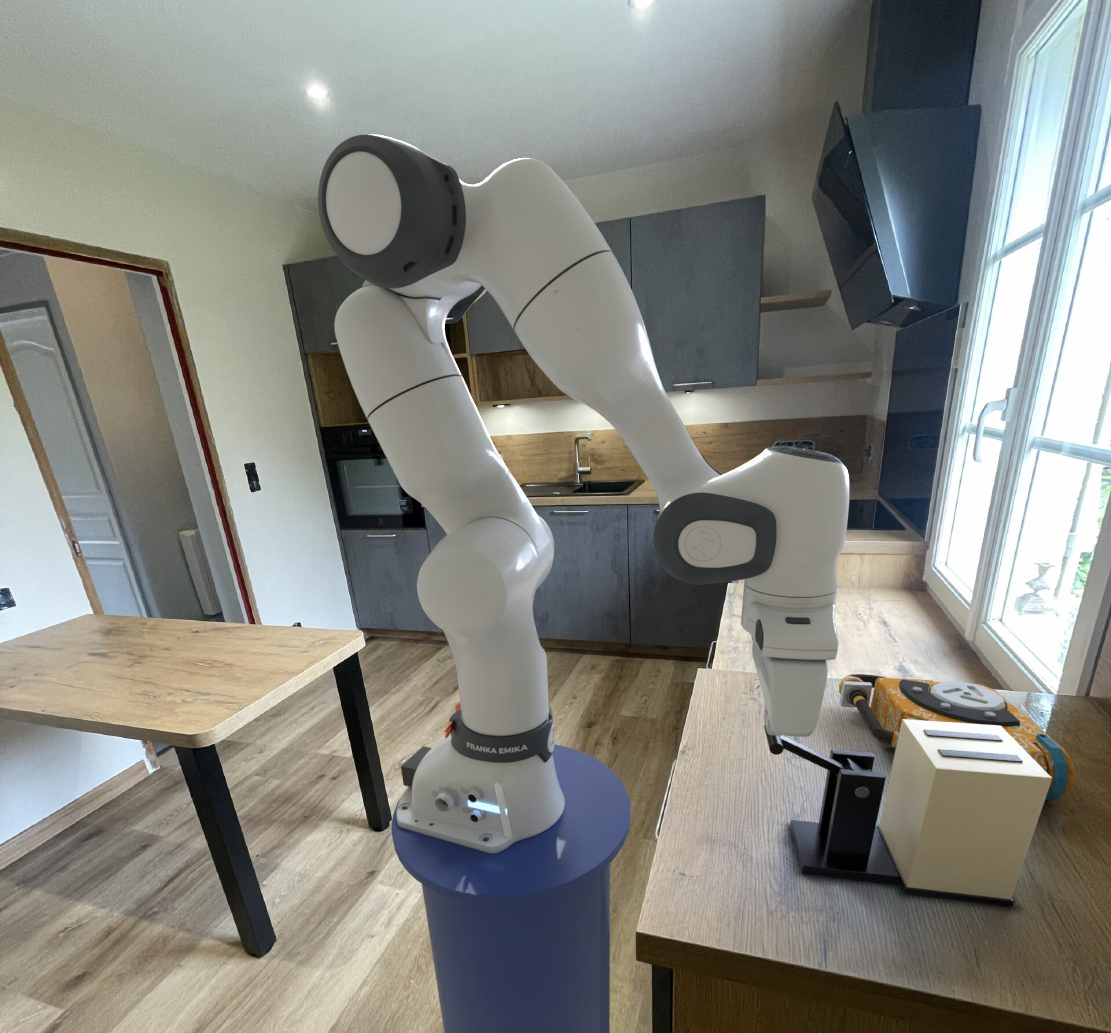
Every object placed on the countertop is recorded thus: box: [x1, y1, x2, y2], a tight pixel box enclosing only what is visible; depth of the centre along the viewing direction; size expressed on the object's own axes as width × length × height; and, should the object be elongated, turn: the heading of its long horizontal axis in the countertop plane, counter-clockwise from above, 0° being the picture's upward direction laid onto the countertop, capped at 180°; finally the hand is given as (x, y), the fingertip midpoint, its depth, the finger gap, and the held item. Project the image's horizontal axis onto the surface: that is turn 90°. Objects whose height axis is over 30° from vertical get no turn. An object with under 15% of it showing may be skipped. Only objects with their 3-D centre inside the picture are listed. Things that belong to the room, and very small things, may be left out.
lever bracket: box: [789, 748, 899, 886], centre depth 66 cm, size 10×8×13 cm
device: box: [838, 673, 1076, 801], centre depth 88 cm, size 23×8×30 cm
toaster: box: [875, 719, 1052, 907], centre depth 64 cm, size 10×10×16 cm
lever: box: [763, 723, 871, 779], centre depth 65 cm, size 12×5×2 cm, turn 78°
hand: (773, 728), depth 65 cm, fingers closed
